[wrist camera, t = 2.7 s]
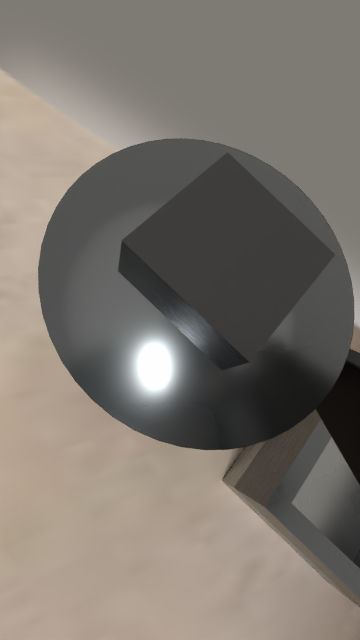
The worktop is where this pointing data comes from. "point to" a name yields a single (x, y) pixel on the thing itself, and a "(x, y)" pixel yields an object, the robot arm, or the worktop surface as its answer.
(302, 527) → the saucepan
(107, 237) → the cylinder with cube top
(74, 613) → the worktop surface
